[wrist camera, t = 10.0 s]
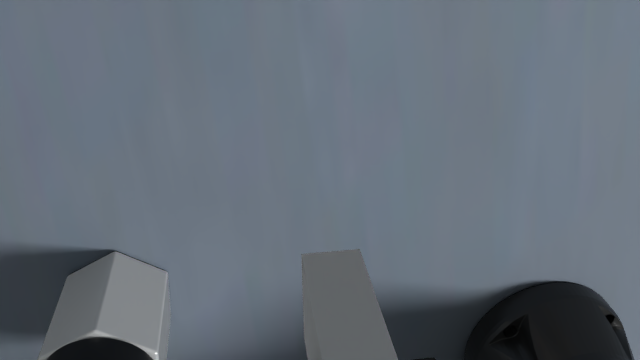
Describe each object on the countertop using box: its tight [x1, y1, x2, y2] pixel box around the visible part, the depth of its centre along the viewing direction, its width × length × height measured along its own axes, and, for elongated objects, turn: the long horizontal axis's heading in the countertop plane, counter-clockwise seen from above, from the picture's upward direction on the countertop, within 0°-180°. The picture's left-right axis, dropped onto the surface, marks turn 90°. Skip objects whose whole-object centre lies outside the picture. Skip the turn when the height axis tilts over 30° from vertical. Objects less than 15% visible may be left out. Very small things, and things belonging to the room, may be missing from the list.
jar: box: [37, 251, 171, 360], centre depth 45 cm, size 9×8×12 cm
